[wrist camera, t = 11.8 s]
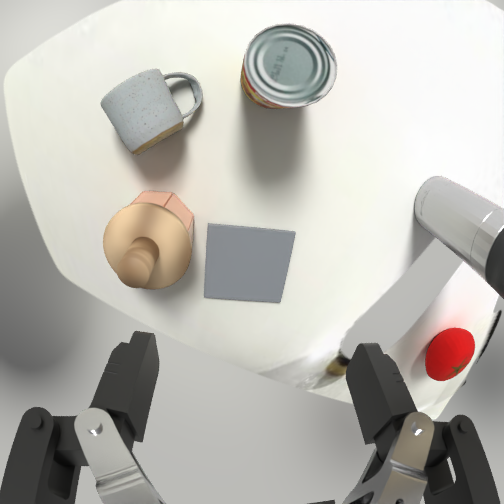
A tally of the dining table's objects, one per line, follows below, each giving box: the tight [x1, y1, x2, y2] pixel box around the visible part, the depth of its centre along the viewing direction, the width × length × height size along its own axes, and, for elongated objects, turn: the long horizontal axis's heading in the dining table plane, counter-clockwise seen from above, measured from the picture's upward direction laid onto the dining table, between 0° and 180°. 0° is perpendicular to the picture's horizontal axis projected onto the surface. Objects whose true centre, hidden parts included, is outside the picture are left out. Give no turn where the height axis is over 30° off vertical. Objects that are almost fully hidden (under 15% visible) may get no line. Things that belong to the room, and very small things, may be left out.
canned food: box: [241, 23, 337, 109], centre depth 24 cm, size 8×8×12 cm
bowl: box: [130, 191, 194, 244], centre depth 35 cm, size 10×10×6 cm
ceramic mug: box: [101, 69, 203, 155], centre depth 27 cm, size 11×8×8 cm
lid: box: [103, 202, 192, 289], centre depth 30 cm, size 11×11×6 cm
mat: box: [204, 223, 296, 302], centre depth 41 cm, size 12×12×1 cm
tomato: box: [425, 328, 475, 381], centre depth 51 cm, size 14×13×10 cm
